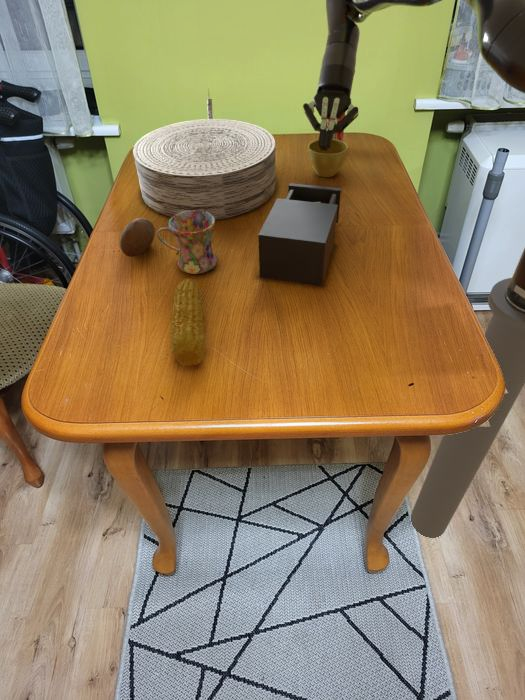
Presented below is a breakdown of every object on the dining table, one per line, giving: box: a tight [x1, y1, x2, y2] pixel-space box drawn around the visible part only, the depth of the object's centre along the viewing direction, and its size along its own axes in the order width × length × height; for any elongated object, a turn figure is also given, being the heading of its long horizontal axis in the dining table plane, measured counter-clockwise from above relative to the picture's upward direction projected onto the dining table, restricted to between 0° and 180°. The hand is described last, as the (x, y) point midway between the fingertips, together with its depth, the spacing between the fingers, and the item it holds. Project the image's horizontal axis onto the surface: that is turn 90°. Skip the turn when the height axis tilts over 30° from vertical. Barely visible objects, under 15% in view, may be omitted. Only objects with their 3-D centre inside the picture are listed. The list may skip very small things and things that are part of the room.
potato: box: [119, 217, 156, 257], centre depth 101 cm, size 7×12×7 cm, turn 175°
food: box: [170, 278, 207, 368], centre depth 83 cm, size 21×6×6 cm, turn 9°
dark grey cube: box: [257, 198, 338, 287], centre depth 96 cm, size 15×13×10 cm
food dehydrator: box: [132, 88, 276, 220], centre depth 119 cm, size 38×34×18 cm
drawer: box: [285, 182, 342, 224], centre depth 104 cm, size 18×11×8 cm, turn 165°
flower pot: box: [307, 139, 349, 178], centre depth 126 cm, size 10×10×7 cm
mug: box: [157, 210, 218, 275], centre depth 96 cm, size 11×9×10 cm
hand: (324, 149), depth 108 cm, fingers closed
